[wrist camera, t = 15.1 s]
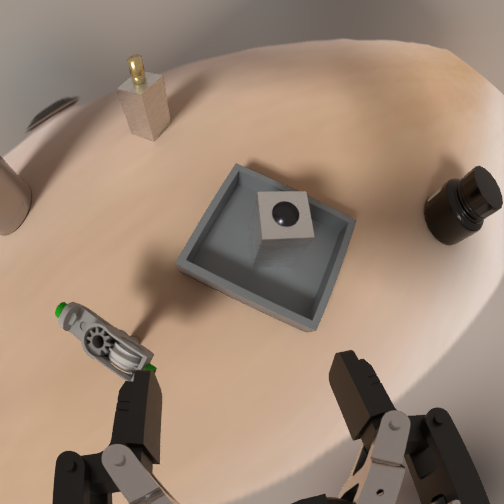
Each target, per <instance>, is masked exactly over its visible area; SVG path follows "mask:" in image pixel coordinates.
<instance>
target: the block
mask: <svg viewBox="0 0 504 504" xmlns="http://www.w3.org/2000/svg"><path fill="white" fill-rule="evenodd" d="M248 234H249V246H250V258H251V269H267V268H283V267H291V265H292V264H293V263H294V262H295V261H296V259H297V258H298V257H299V256H300V255H301V253H302V252H303V251H304V250H305V248H306V247H307V246H308V245H309V244H310V242H311V241H312V240H313V239H314V231H313V225H312V219H311V214H310V208H309V203H308V198H307V193H306V191H276V192H257V196H256V200H255V205H254V209H253V214H252V218H251V223H250V227H249V232H248Z"/></svg>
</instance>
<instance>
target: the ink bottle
mask: <svg viewBox="0 0 504 504" xmlns="http://www.w3.org/2000/svg"><path fill="white" fill-rule="evenodd" d="M502 204H503V201H502V195H501V192H500V188H499V187H498V185H497V183H496V181H495V179H494V178H493V177H492V175H491V174H490V173H489V172H488V171H487V170H486V169H485V168H483V167H481V166H476V167H475V168H473V169H472V170H471V171H470V172H469V173H468V174H467V175H465V176H464V178H462V179H461V180H460V179H451V180H449V181H448V182H446V183H445V184H444V185H443V186H442V187H441V188H439V189H438V190H437V191H436V192H435V193H434V194H432V195H431V196H430V197H429V198H428V199H427V201H426V203H425V218H426V222H427V225H428V227H429V229H430V231H431V233H432V234H433V235H434V236H435V238H437V239H438V240H439V241H440V242H442V243H444V244H446V245H454V244H457V243H458V242H460V241H462V240H464V239H465V238H467V237H469V236H471V235H472V234H474V233H476V232H477V231H479V230H480V229H481V227H482V225H483V221H484V219H485V218H487V217H488V216H490V215H492V214H493V213H495V212H496V211H498V210H499V209H501V208H502Z"/></svg>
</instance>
